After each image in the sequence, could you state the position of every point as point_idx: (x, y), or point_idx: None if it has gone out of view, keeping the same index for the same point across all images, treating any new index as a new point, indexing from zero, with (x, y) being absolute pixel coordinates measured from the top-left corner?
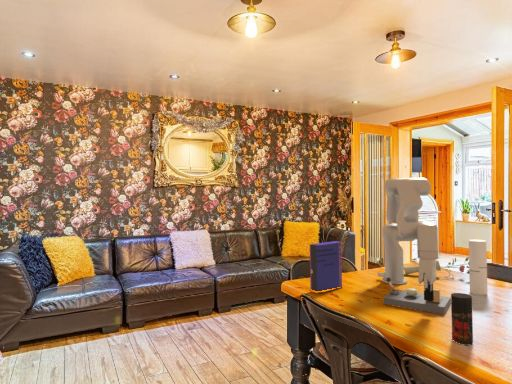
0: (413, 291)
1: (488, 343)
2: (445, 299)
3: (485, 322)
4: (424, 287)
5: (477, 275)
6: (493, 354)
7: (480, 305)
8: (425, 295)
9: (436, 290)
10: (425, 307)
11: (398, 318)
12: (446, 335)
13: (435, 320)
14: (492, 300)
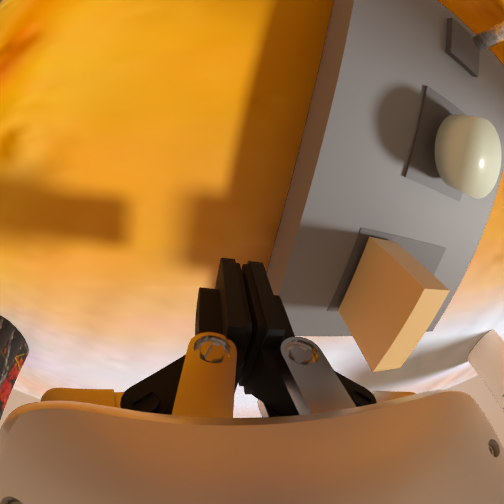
0: (458, 165)
1: (44, 383)
2: None
3: None
4: (49, 395)
5: (500, 384)
6: None
7: (397, 375)
8: (221, 296)
9: (381, 357)
10: (291, 221)
11: (72, 70)
12: (7, 302)
13: (135, 268)
14: (430, 380)
